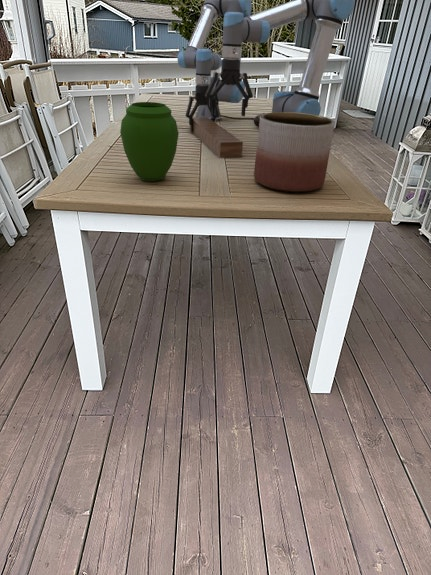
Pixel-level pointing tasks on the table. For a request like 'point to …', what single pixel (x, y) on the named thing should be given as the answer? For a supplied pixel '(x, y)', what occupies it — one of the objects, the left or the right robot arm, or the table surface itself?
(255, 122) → the seashell
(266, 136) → the planter
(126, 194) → the table surface
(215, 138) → the narrow beam
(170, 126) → the vase
